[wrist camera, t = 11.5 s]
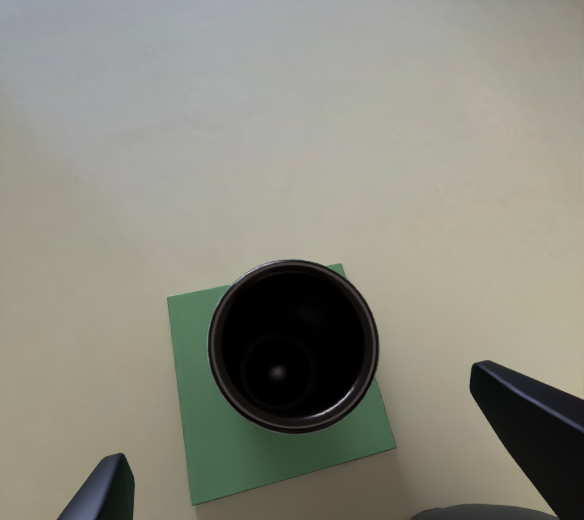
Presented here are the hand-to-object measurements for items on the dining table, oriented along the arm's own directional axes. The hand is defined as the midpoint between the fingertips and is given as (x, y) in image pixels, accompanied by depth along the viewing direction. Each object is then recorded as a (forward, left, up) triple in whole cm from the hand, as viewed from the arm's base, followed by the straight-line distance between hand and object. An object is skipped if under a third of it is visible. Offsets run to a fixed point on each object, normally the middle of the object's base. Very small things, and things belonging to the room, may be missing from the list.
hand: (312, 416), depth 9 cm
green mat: (+2, +1, -10) cm, 11 cm away
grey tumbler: (+2, +1, -10) cm, 10 cm away
